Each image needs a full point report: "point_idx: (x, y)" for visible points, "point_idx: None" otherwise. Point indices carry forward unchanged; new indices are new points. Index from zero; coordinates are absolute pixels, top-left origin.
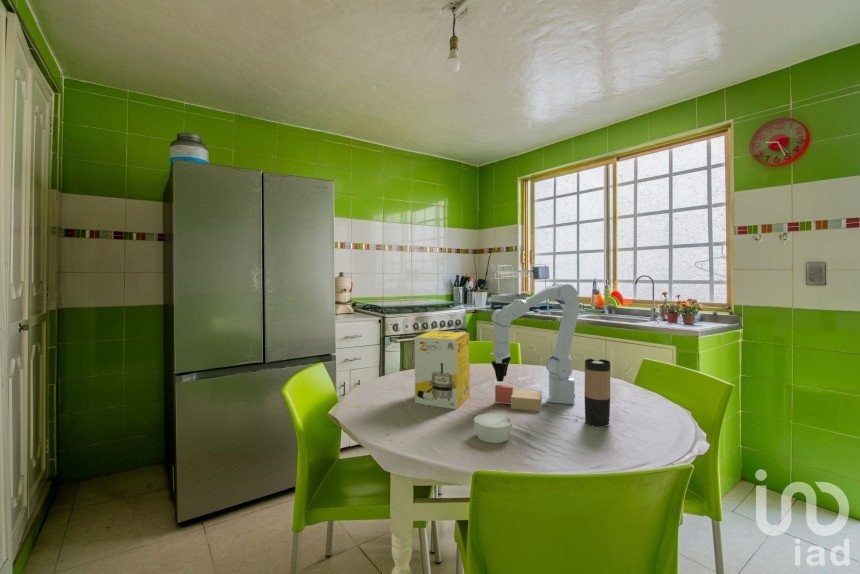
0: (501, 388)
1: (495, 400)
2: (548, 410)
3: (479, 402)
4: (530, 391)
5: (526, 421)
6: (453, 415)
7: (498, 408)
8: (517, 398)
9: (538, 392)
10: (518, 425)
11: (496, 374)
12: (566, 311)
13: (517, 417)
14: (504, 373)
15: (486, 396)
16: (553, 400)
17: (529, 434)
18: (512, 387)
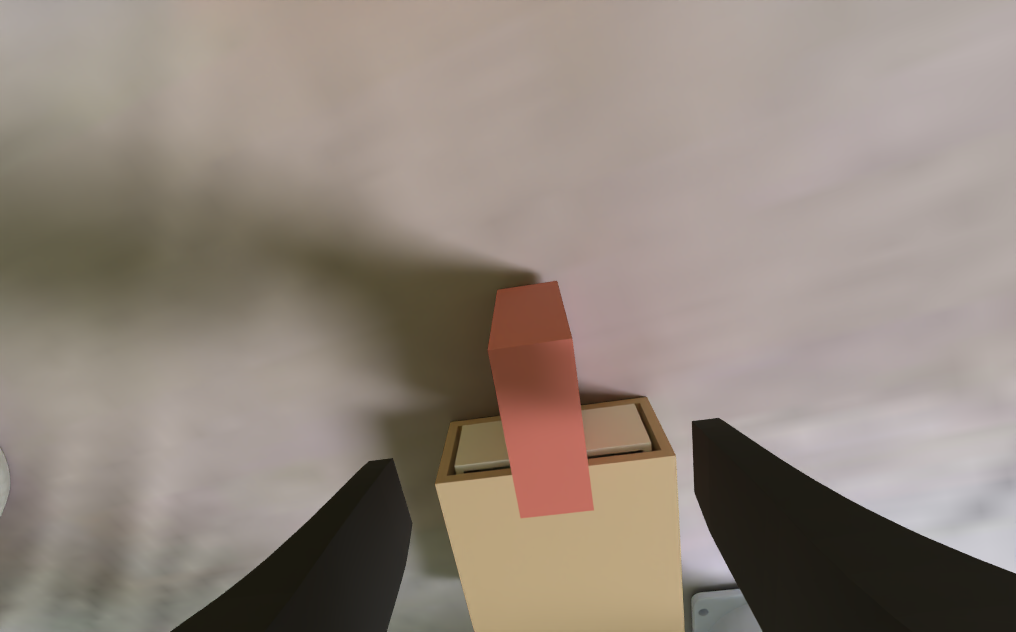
0: (501, 410)
1: (497, 296)
2: None
3: (475, 131)
4: (673, 579)
5: (273, 549)
6: (4, 40)
7: (406, 340)
8: (447, 523)
9: (666, 630)
10: (182, 526)
11: (302, 542)
12: None
13: (305, 495)
14: (709, 511)
15: (694, 127)
16: (712, 629)
17: (106, 592)
18: (568, 507)
